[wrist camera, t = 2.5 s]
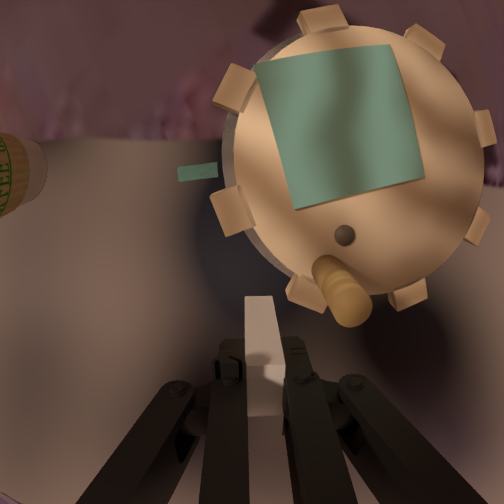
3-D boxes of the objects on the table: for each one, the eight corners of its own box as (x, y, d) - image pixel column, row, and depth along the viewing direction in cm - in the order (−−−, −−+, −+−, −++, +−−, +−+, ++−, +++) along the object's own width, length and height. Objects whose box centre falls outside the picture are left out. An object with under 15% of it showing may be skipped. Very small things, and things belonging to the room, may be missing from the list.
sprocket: (289, -30, 19) (305, -90, 11) (511, 118, 23) (572, 118, 14) (159, 236, 26) (120, 275, 17) (410, 339, 29) (451, 393, 21)
